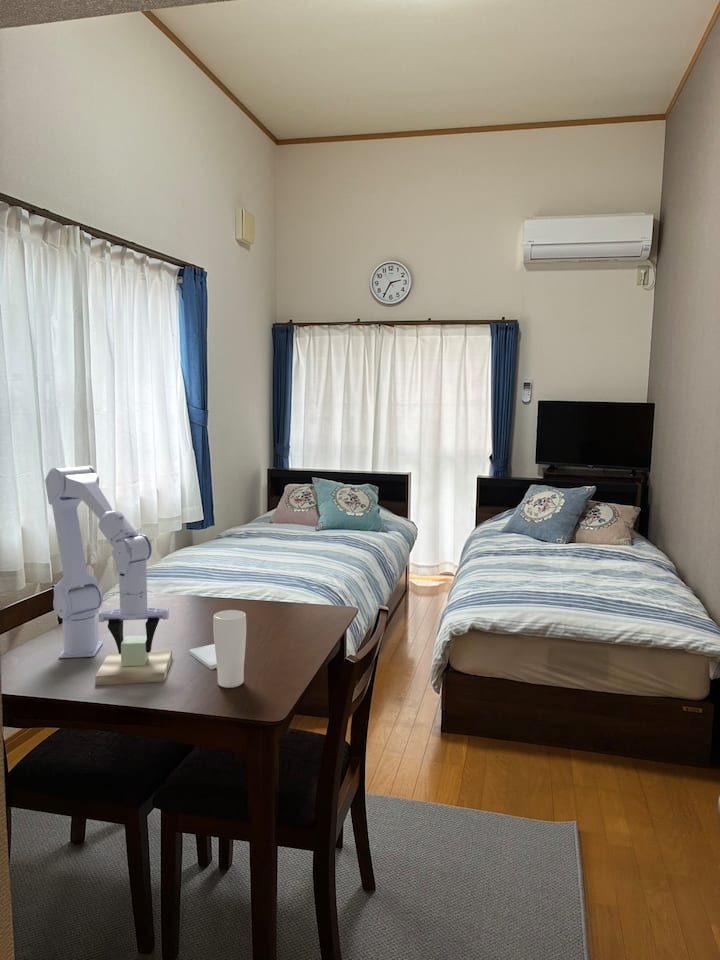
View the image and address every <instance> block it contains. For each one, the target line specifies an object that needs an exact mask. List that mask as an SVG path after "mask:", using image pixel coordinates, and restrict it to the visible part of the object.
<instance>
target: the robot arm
mask: <svg viewBox="0 0 720 960" xmlns="http://www.w3.org/2000/svg"><path fill="white" fill-rule="evenodd" d="M44 483H45V489H46V490H45V491H46V496H47V499H48V504H49V505H51V507H52V514H53V519H54V526H55V532H56V537H57V544H58V550H59V557H60V563H61V569H62V578H60V579H59V581H58V582H57V583H56V584H55V585H54V587H53V601H52V603H53V604H52V606H53V609H54V612H55V614H56V615H57V616H58V618H59V619H62V635H63V636H62V637H63V639H62V640H63V650H62V651H61V652H60V654H59V655H58V659H68V658H69V659H70V658H71V659H72V658H88V657H89V658H91V657H95V656H96V654H97V653H98V651H99V650H100V649H101V647H102V645H103V644H104V643H103V641H101V640H99V624H98V623H104V622H108V623H107V629H108V631H109V632H110V633H111V635H112V637H113V639H114V642H115V644H116V647H117V650H118V651H117V652H119V654H121V643H122V641H123V639H124V621H137V620H139V621H140V620H146V622H145V626H144V627H145V632H146V633H145V634H146V635H145V636H147V646H146V650H147V653H150V651H152V645H153V640H154V636H155V633H156V630H157V626H158V624H159V622H160V620H161V619H162V620H169V615H170V611H169V608H161V607H160V608H159V607H148V579H147V578H148V577H147V576H148V575H147V573H148V572H147V571H148V570H147V560H149V559H150V558H151V556H152V553H153V546H152V544H151V541H150V539H149V538H148V536H147V535H146V534H142V533H140V532H139V531H135V529H134V528H133V526H132V525H131V524H130V523H129V521H128V520H127V518H126V517H125V516H124V515H123V513H122V512H120V511H116V510H114V509H113V508H112V506H111V505H110V503H109V501H108V500H107V498H106V496H105V495H104V493H103V491H102V489H101V488H100V477H99V474H98V473H97V472H96V470H95V468H94V467H93V466H91V465H88V464H87V465H84V466H74V467H72V466H71V467H60V468H59V467H53V468H51V469H49V471H48V473H47V475H46V478H45V479H44ZM81 502H84V504H86V506H87V507H88V508H89V510H91V511H92V513H94V515H95V516H96V517H97V518H98V520H99V521H98V528H99V530H100V532H102V534H103V536H104V537H105V539H106V540H107V541H108V543H109V544H110V546H111V547H112V550H111V556H112V558H113V561H114V562H115V570H116V571H117V573H118V578H119V579H118V583H119V585H118V586H119V588H118V589H119V608H116V609H110V610H100V609H101V607H102V606H103V603H104V595H103V592H102V589H101V588H100V586H99V581H98V578H97V577H95V576H93V575H92V574H90V573H88V571H87V563H86V558H85V551H84V545H83V539H82V533H81V527H80V520H79V514H78V506H79V504H81ZM99 610H100V611H99ZM97 614H98V617H97Z"/></svg>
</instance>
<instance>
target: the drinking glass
mask: <svg viewBox="0 0 720 960" xmlns="http://www.w3.org/2000/svg"><path fill="white" fill-rule="evenodd" d="M212 623H213V624H212V626H213V629H212V630H213V641H214V642H213V644H215V653H216V662H217V668H216V670H217V683H218V685H219V686H220V687H222V688H226V689H229V688H230V689H232V688H237V687H239V686H241V685H242V684H243V683H244V679H245V678H244V672H245V671H244V669H245V656H246V642H247V615H246V613H245V612H244V611H241V610H236V609H234V610H233V609H229V610H227V609H226V610H221V611H218V612H216V613H214V614H213V622H212Z"/></svg>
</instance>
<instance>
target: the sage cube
mask: <svg viewBox="0 0 720 960" xmlns="http://www.w3.org/2000/svg"><path fill="white" fill-rule="evenodd" d="M146 646H147V635H125V636H124V637H123V641H122V643H121V666H145V665H146V662H147V660H148V658H149V653H147V650H146Z"/></svg>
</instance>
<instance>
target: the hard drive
mask: <svg viewBox="0 0 720 960" xmlns="http://www.w3.org/2000/svg"><path fill="white" fill-rule="evenodd" d="M188 654H189V655H190V656H192V658H194V659H195V660H197V661H199V663H201V664H203V665H204V666H206V667H207V668H208V669H210V670H215V668H216V669H217V662H216V653H215V644H214V643H212V644H209V645H208V644H207V645H204V646H198V647H195V648H190V649H189V650H188Z"/></svg>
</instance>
